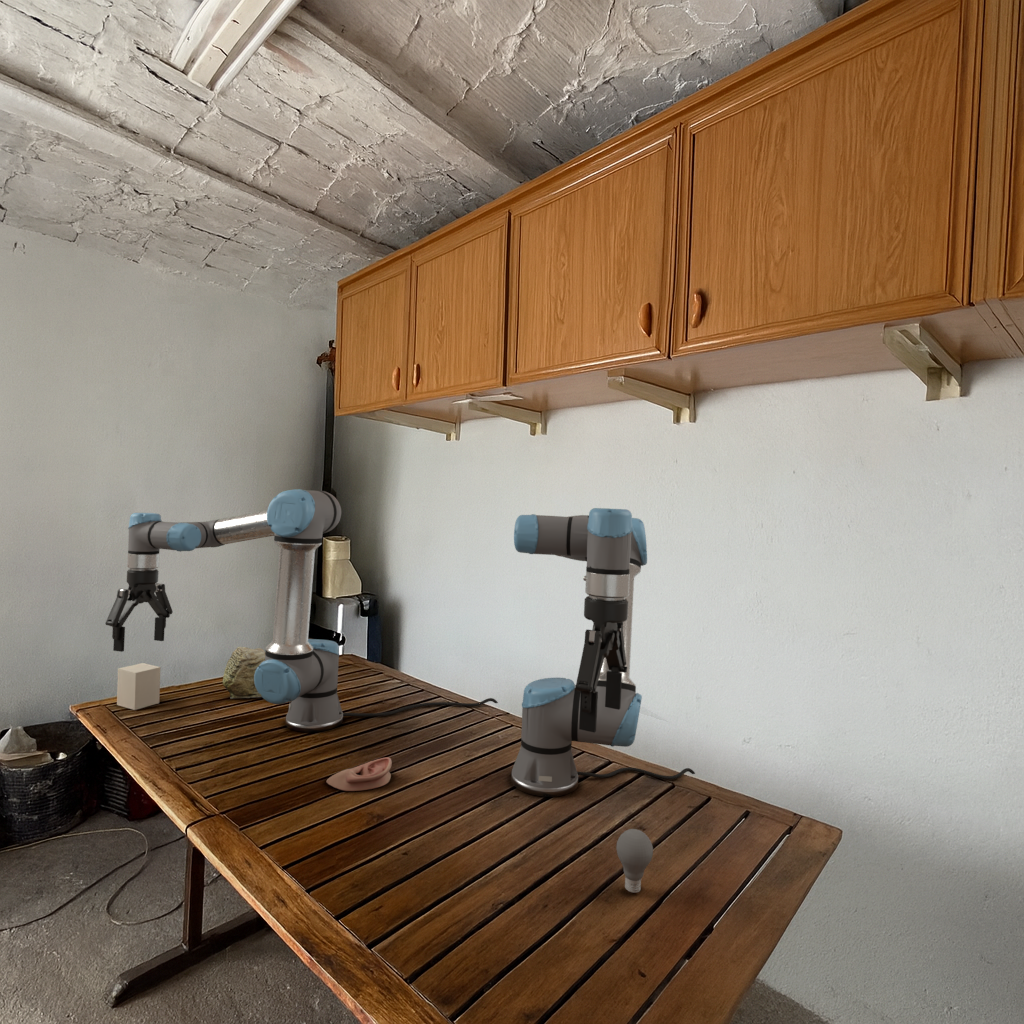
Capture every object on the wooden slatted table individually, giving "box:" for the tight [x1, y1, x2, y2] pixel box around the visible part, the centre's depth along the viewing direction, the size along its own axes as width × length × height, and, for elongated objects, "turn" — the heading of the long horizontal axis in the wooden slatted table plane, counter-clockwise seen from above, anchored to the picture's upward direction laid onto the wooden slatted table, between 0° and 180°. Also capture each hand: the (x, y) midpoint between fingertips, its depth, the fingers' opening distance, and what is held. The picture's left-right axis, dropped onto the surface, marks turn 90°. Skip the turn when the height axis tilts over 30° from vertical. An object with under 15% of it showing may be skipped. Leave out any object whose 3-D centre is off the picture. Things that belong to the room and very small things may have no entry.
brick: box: [116, 662, 162, 711], centre depth 185 cm, size 8×8×11 cm
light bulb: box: [615, 828, 654, 894], centre depth 106 cm, size 6×6×10 cm
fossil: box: [222, 646, 265, 699], centre depth 198 cm, size 9×18×15 cm, turn 132°
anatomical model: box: [326, 756, 393, 792], centre depth 142 cm, size 13×4×12 cm
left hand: (139, 645), depth 175 cm, fingers open, 13 cm apart
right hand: (600, 718), depth 110 cm, fingers open, 13 cm apart
